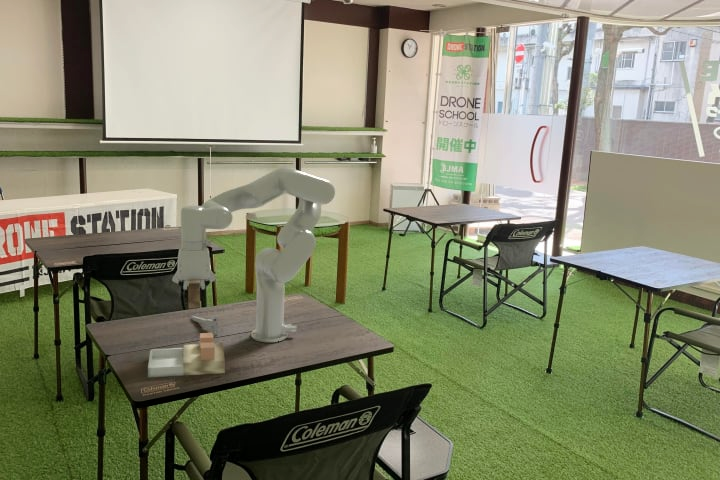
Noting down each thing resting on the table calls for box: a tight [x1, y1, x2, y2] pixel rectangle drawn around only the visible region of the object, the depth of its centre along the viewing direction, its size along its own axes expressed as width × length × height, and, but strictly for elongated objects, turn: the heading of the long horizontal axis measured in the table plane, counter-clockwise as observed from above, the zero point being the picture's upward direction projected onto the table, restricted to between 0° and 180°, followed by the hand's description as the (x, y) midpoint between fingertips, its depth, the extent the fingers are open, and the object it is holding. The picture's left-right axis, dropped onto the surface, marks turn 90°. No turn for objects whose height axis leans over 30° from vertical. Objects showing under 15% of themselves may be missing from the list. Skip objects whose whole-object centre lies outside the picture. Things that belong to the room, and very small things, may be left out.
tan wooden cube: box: [201, 341, 215, 361], centre depth 190 cm, size 4×4×4 cm
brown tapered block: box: [187, 280, 201, 310], centre depth 202 cm, size 4×12×6 cm, turn 14°
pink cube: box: [199, 332, 214, 350], centre depth 197 cm, size 4×4×4 cm
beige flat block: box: [183, 342, 226, 376], centre depth 194 cm, size 12×14×4 cm
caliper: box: [190, 315, 219, 336], centre depth 225 cm, size 20×1×6 cm, turn 39°
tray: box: [147, 347, 185, 378], centre depth 191 cm, size 10×14×3 cm
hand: (194, 299), depth 202 cm, fingers closed on brown tapered block, 3 cm apart
